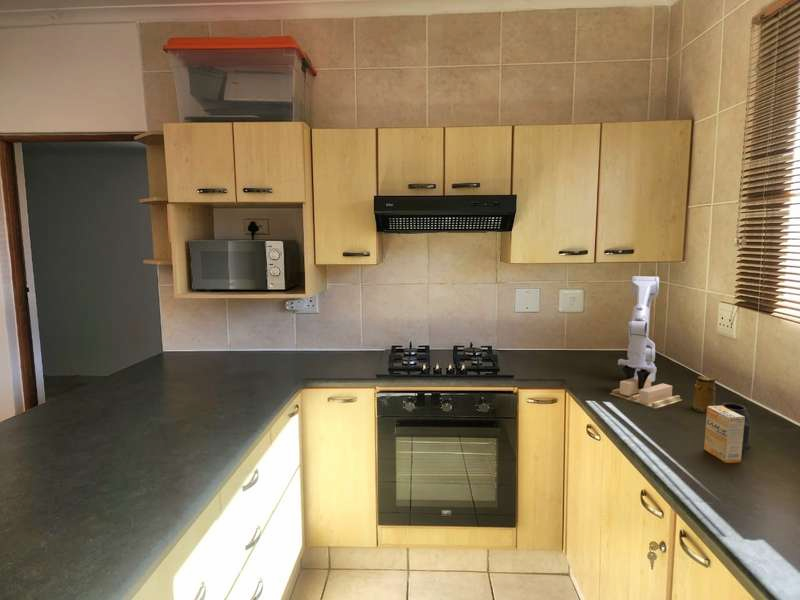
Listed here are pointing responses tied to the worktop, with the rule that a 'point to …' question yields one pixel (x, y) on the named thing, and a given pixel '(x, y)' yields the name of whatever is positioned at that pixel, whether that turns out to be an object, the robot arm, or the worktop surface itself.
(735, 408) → the mug
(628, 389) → the clay bar
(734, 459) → the supplement box
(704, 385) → the condiment
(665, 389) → the clay bar
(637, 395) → the rack
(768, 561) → the worktop surface
